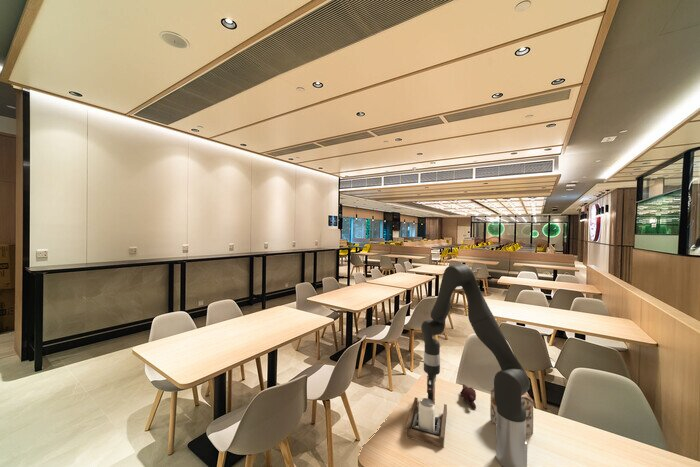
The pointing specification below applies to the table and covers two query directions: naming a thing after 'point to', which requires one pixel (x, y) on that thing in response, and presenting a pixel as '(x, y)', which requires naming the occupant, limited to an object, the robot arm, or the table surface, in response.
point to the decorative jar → (525, 402)
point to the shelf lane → (421, 435)
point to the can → (427, 414)
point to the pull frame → (437, 421)
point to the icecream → (468, 395)
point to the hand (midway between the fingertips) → (431, 395)
